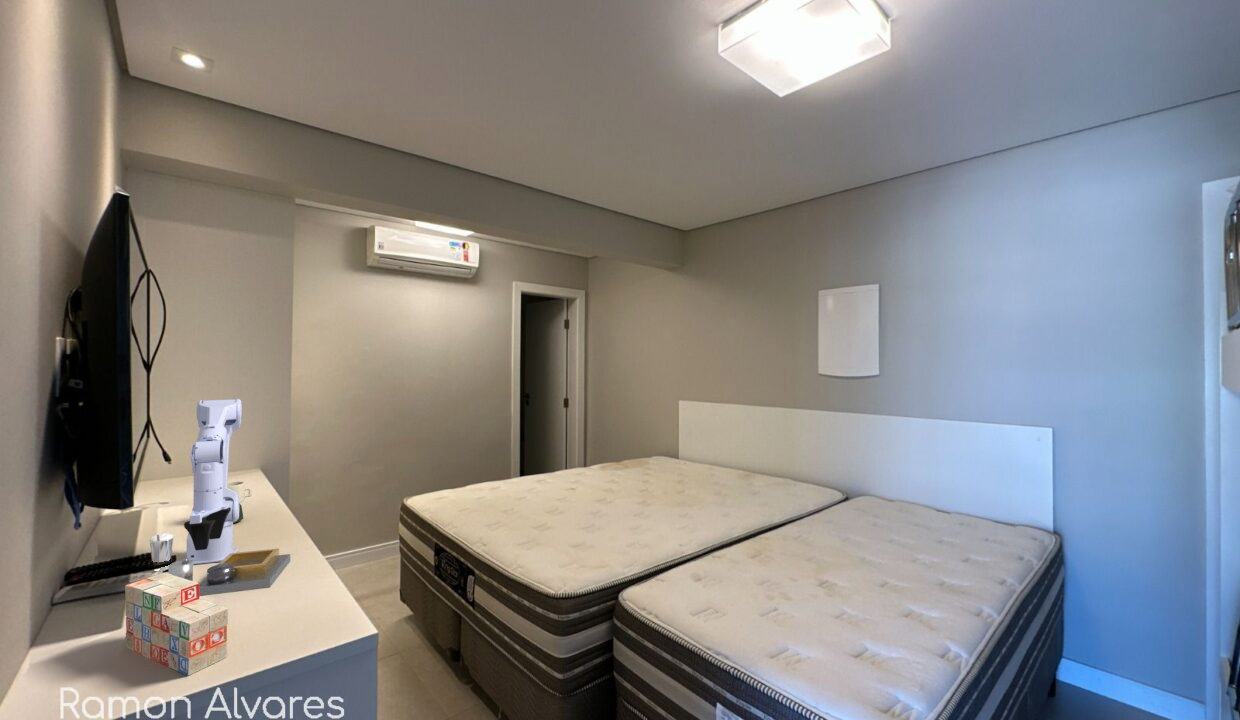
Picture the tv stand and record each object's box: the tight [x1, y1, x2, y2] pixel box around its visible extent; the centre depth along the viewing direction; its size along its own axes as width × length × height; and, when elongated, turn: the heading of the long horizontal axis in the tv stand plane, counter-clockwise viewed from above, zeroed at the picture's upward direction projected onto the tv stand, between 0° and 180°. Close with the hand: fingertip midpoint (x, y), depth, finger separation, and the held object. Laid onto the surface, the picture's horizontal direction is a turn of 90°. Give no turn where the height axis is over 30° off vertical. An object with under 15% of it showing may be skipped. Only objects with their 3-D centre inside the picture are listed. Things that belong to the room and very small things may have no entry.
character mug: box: [227, 481, 253, 524], centre depth 165 cm, size 11×7×13 cm, turn 125°
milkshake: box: [149, 532, 175, 572], centre depth 129 cm, size 4×5×10 cm
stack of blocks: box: [124, 572, 229, 677], centre depth 93 cm, size 21×6×12 cm, turn 66°
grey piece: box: [199, 547, 291, 597], centre depth 125 cm, size 14×16×5 cm
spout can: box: [168, 557, 194, 581], centre depth 119 cm, size 4×4×7 cm
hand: (208, 543), depth 123 cm, fingers open, 7 cm apart
